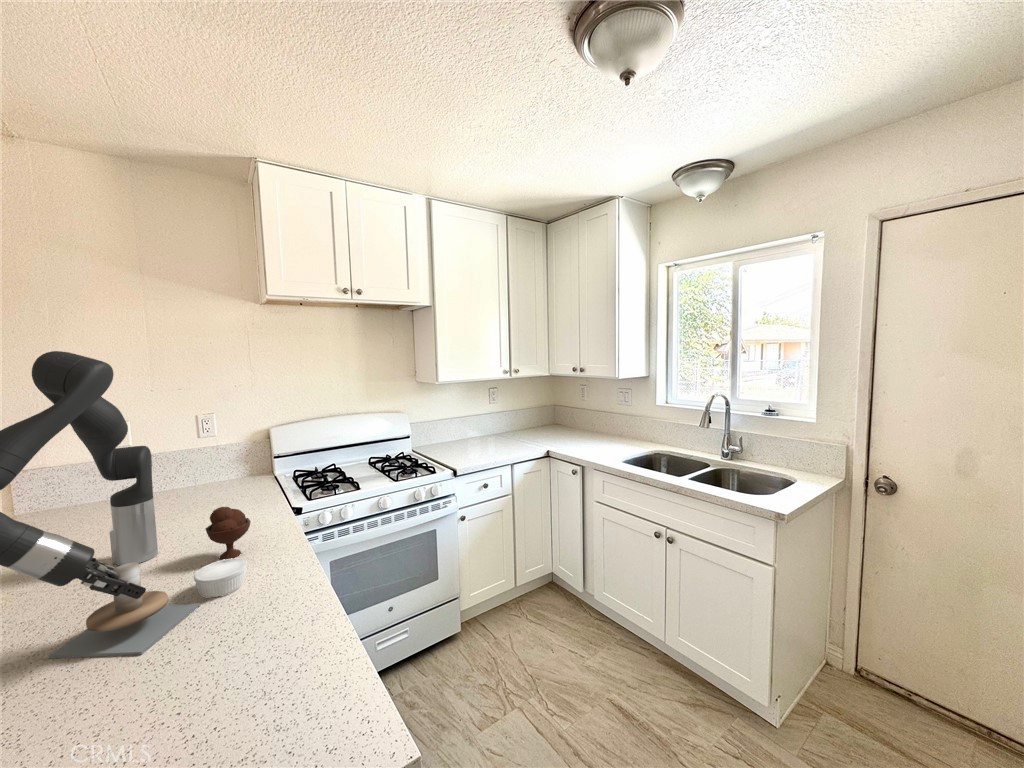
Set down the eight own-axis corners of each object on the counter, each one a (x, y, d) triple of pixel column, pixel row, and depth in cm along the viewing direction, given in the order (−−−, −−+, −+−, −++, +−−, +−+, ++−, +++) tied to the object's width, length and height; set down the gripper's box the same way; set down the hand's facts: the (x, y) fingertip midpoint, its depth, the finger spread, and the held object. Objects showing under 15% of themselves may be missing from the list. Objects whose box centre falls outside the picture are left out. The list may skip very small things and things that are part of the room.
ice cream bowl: (230, 566, 117) (227, 514, 115) (198, 563, 119) (194, 512, 118) (260, 548, 127) (257, 500, 126) (230, 546, 129) (226, 499, 128)
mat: (48, 658, 82) (48, 655, 82) (122, 608, 98) (122, 605, 98) (141, 654, 82) (141, 651, 82) (200, 605, 98) (199, 603, 98)
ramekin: (240, 572, 114) (239, 553, 113) (255, 586, 106) (254, 566, 106) (190, 590, 105) (188, 570, 105) (202, 607, 98) (200, 585, 97)
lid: (66, 632, 83) (62, 585, 82) (125, 595, 96) (121, 554, 95) (133, 630, 83) (129, 583, 82) (182, 593, 96) (179, 552, 95)
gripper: (75, 550, 78) (162, 583, 88) (67, 531, 87) (147, 563, 97) (35, 589, 74) (131, 620, 84) (30, 566, 83) (118, 596, 93)
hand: (139, 589), depth 91 cm, fingers closed on lid, 4 cm apart
